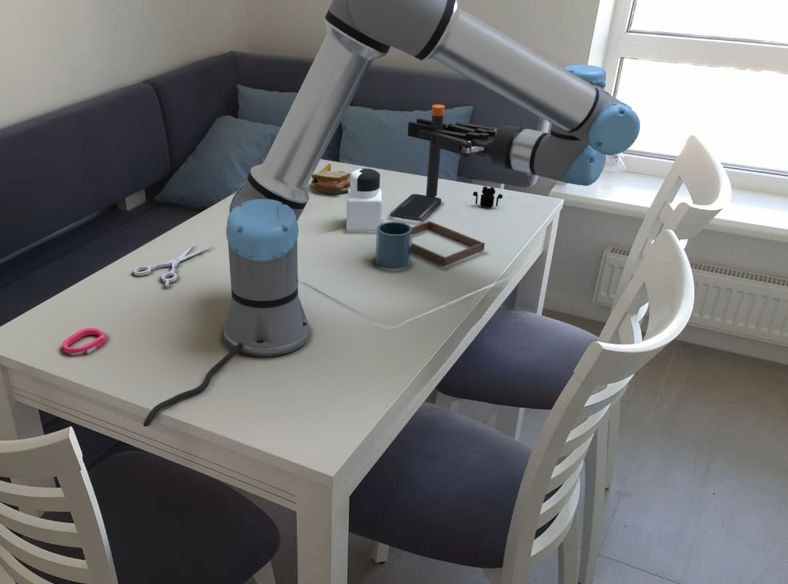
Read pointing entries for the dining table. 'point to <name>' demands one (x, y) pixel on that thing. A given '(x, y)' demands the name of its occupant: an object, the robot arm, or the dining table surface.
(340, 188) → the toy sandwich meal
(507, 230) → the dining table surface
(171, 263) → the scissors
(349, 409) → the dining table surface
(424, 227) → the tray
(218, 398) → the dining table surface
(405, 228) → the pen cup
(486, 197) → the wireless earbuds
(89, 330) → the fitness band
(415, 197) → the phone
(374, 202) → the container
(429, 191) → the marker
